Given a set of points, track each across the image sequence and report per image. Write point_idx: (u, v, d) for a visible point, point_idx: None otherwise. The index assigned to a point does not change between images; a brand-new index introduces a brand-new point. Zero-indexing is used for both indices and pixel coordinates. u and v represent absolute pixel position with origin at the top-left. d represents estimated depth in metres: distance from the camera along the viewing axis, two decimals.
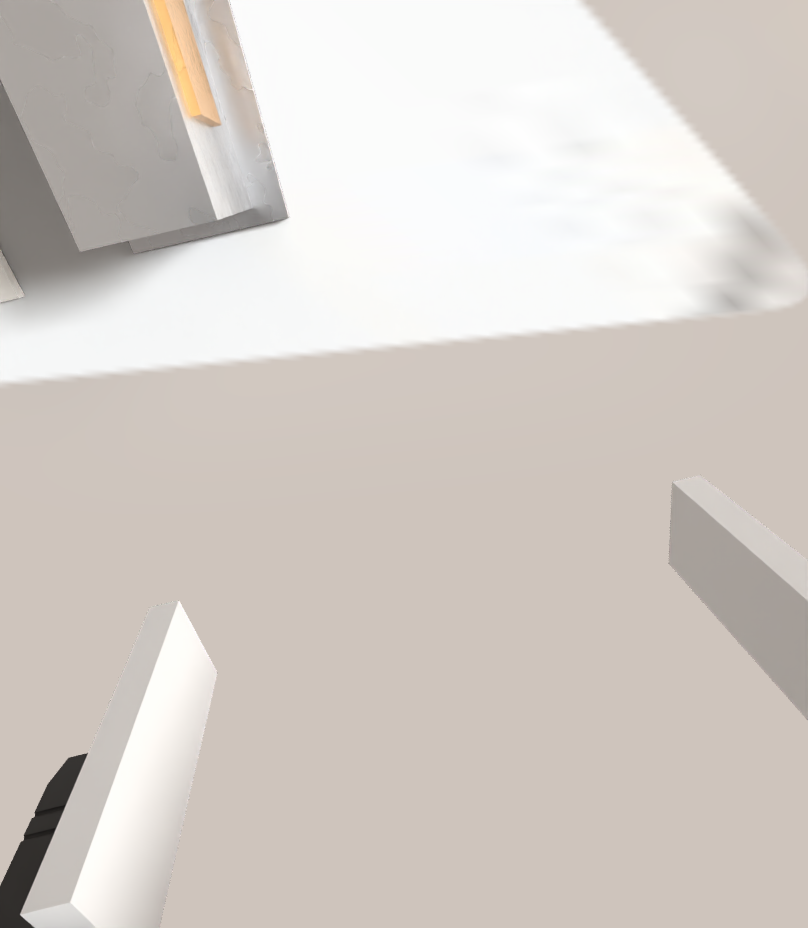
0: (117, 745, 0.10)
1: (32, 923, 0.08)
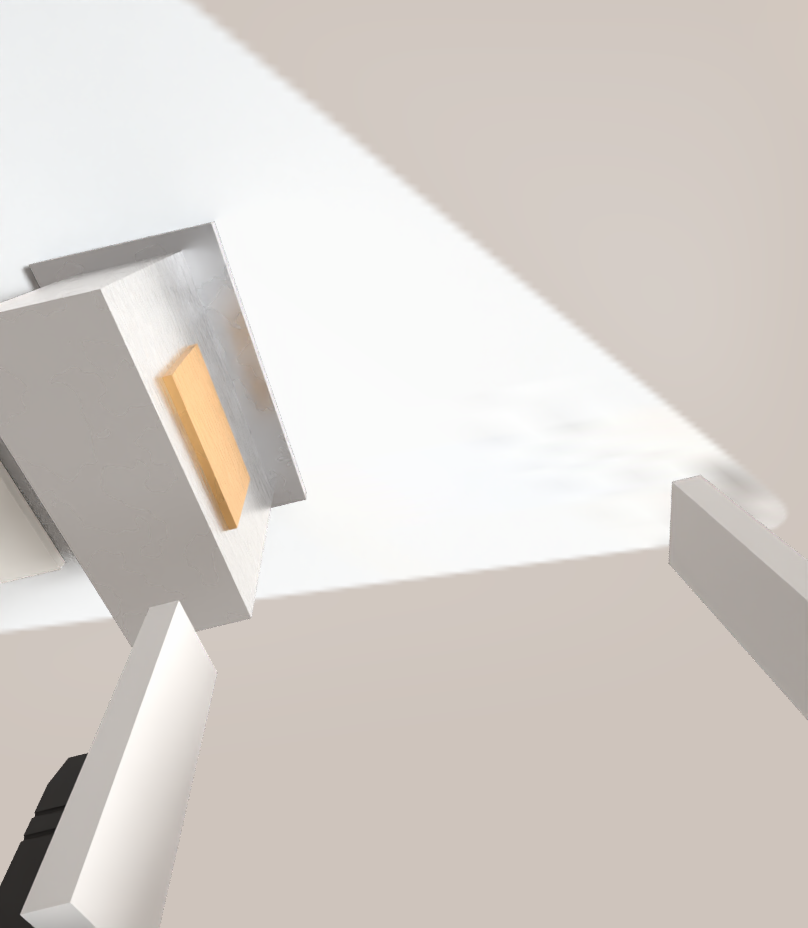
0: (117, 745, 0.10)
1: (32, 923, 0.08)
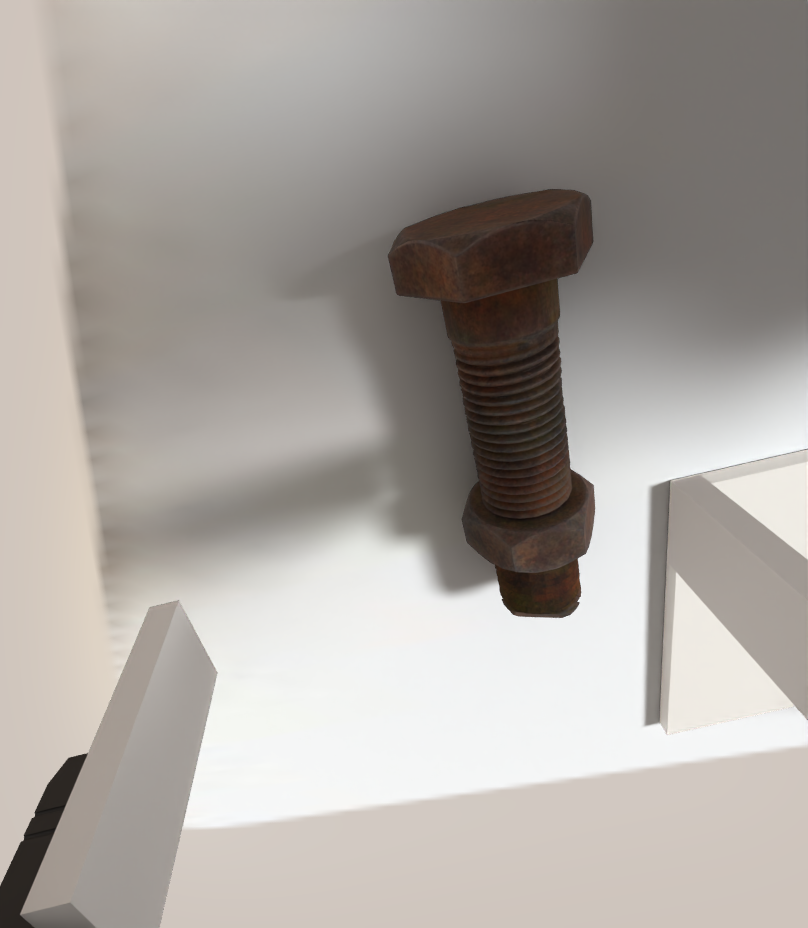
0: (117, 745, 0.10)
1: (32, 923, 0.08)
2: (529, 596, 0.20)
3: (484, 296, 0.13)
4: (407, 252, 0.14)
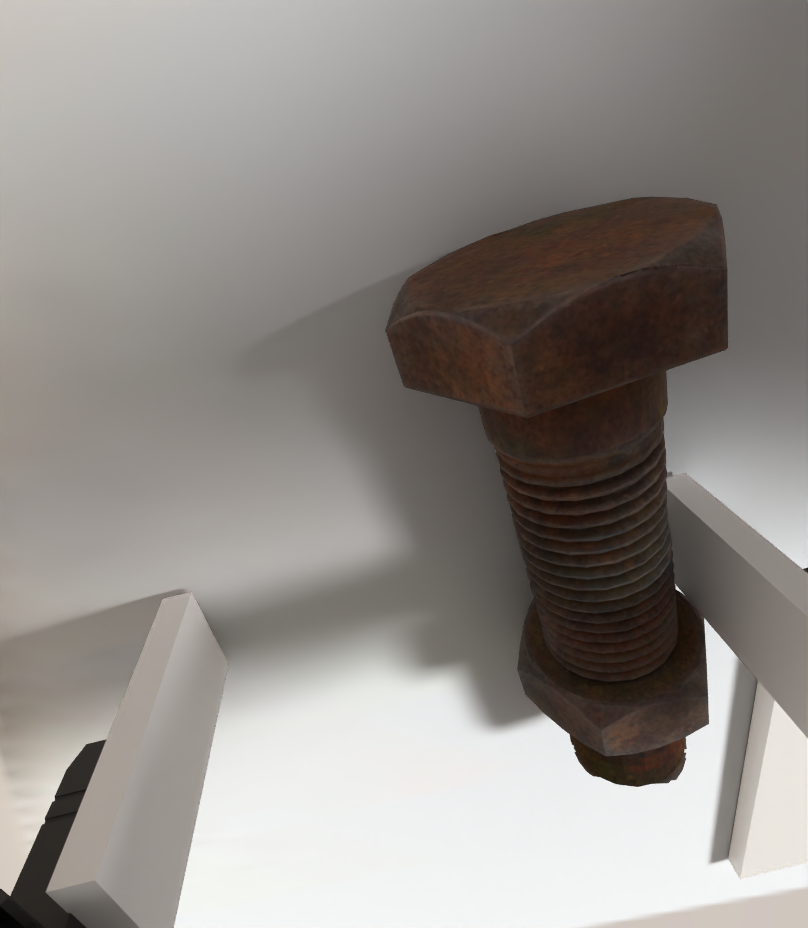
0: (135, 731, 0.10)
1: (57, 901, 0.08)
2: (619, 765, 0.15)
3: (562, 404, 0.08)
4: (418, 329, 0.08)
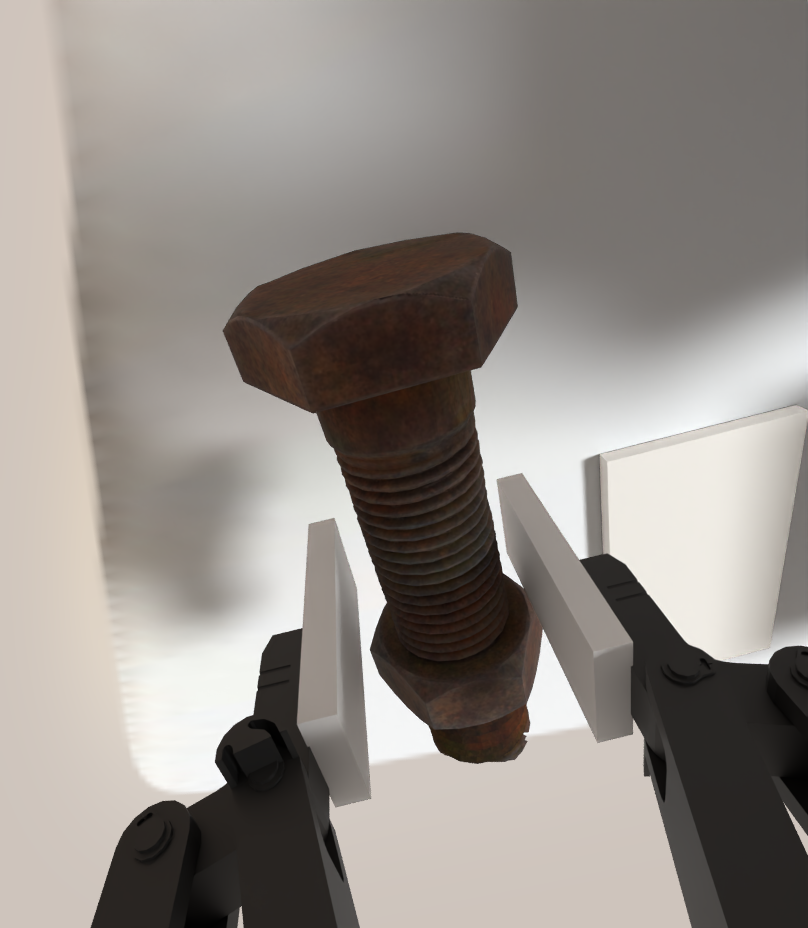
0: (327, 616, 0.12)
1: (302, 734, 0.10)
2: (460, 743, 0.16)
3: (342, 403, 0.09)
4: (240, 331, 0.10)
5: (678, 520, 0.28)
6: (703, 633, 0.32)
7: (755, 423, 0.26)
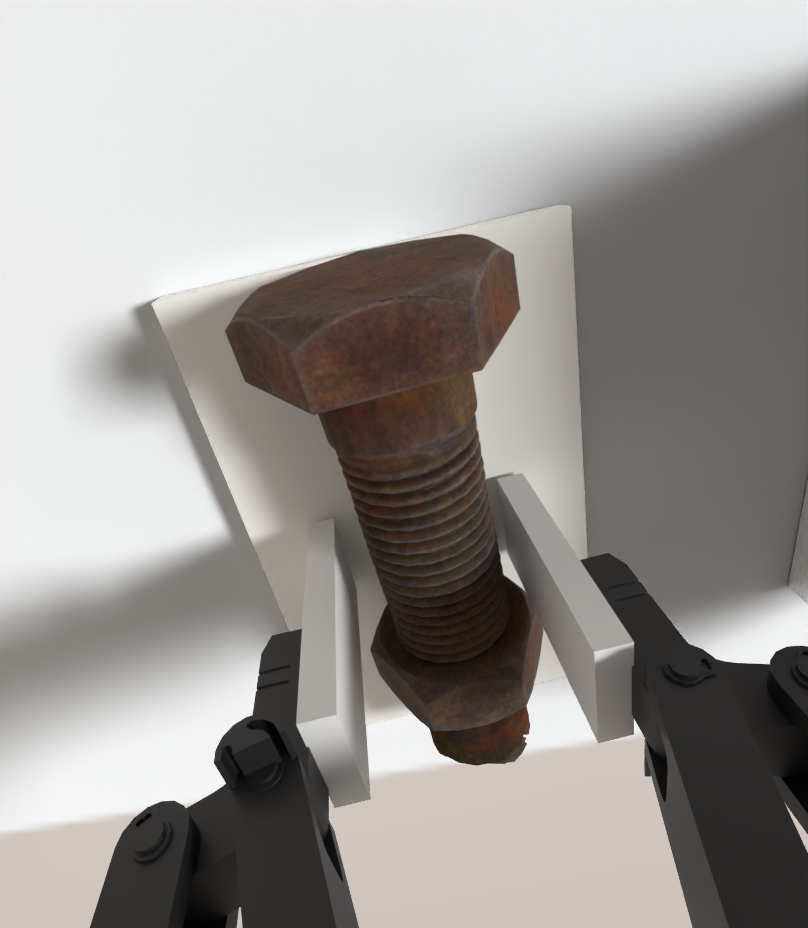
0: (326, 617, 0.12)
1: (301, 734, 0.10)
2: (460, 744, 0.16)
3: (343, 405, 0.09)
4: (241, 332, 0.10)
5: None
6: None
7: (460, 230, 0.13)
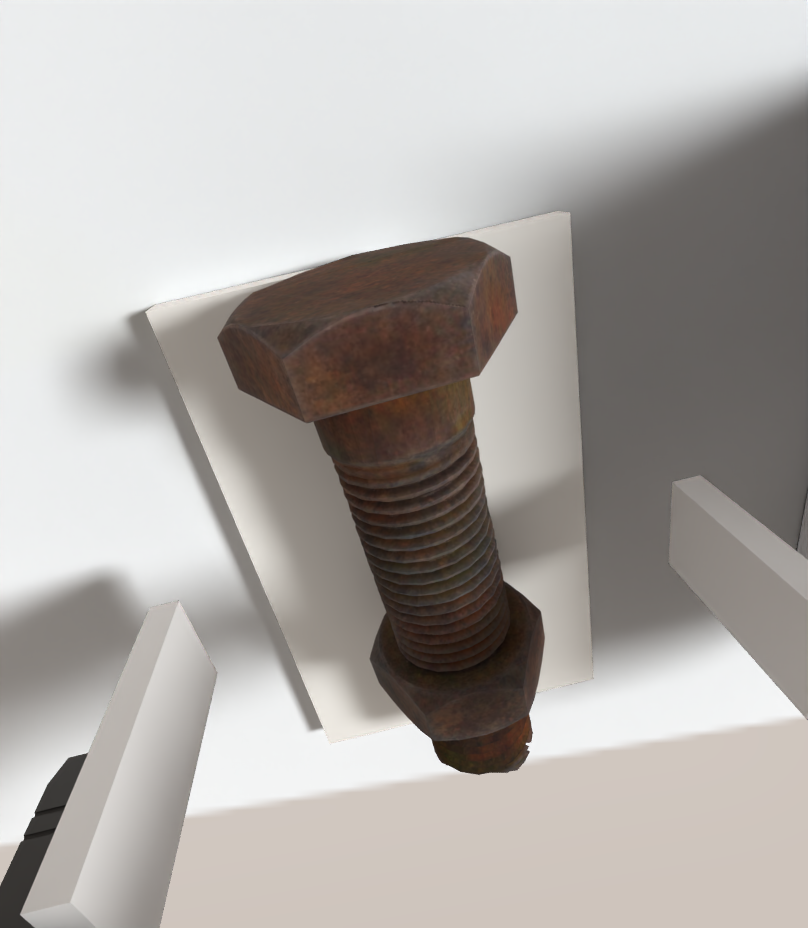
0: (117, 745, 0.10)
1: (32, 923, 0.08)
2: (461, 753, 0.16)
3: (337, 413, 0.09)
4: (233, 340, 0.10)
5: None
6: None
7: None
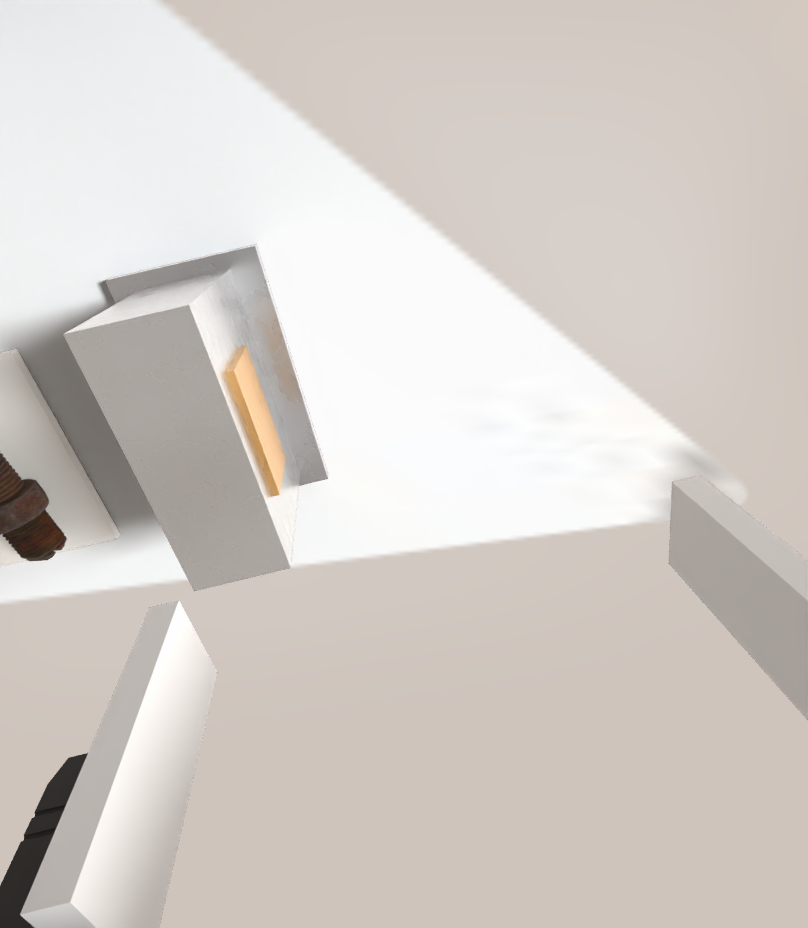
0: (117, 745, 0.10)
1: (32, 923, 0.08)
2: (17, 548, 0.40)
3: None
4: None
5: None
6: None
7: None
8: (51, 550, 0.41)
